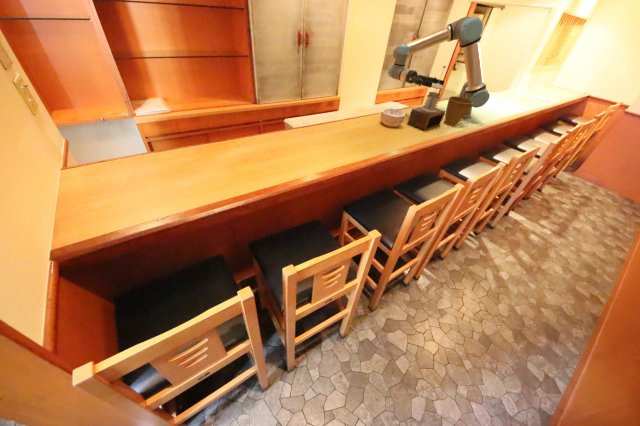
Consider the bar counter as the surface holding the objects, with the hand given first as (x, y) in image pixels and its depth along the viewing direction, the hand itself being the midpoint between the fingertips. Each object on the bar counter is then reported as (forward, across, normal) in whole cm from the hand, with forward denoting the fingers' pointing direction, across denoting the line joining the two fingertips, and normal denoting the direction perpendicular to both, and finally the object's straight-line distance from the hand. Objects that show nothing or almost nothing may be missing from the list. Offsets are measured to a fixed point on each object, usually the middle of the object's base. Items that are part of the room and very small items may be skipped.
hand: (437, 84), depth 148 cm
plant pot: (+8, -23, -25) cm, 35 cm away
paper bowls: (-11, +21, -25) cm, 35 cm away
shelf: (0, 0, -25) cm, 25 cm away
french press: (0, 0, -15) cm, 15 cm away
